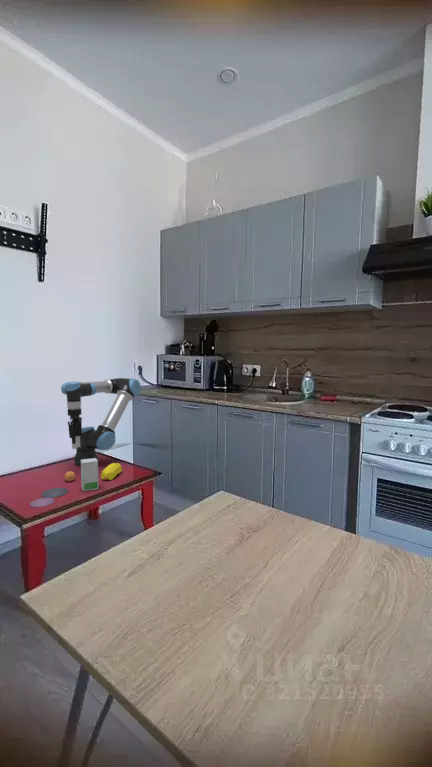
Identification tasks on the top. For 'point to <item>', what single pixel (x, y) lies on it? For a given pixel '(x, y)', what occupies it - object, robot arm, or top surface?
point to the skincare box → (89, 474)
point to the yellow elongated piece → (111, 471)
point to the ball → (70, 476)
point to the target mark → (54, 492)
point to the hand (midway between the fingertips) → (76, 447)
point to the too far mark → (42, 502)
